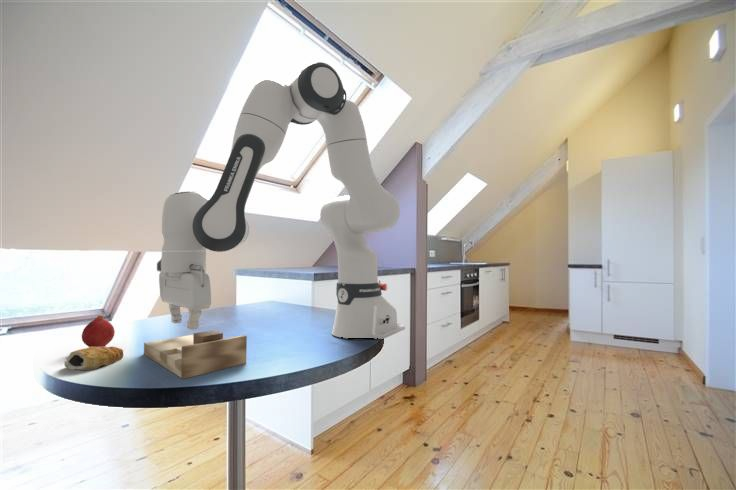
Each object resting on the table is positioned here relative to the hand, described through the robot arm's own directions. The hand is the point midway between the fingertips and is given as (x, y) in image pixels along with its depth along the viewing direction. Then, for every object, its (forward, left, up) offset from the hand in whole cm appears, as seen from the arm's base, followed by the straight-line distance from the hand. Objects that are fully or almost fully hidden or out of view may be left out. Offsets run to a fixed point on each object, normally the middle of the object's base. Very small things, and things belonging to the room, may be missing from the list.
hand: (184, 325), depth 77 cm
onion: (+13, -16, -6) cm, 21 cm away
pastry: (+15, -5, -6) cm, 17 cm away
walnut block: (+1, +14, -3) cm, 14 cm away
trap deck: (+1, +6, -6) cm, 9 cm away
